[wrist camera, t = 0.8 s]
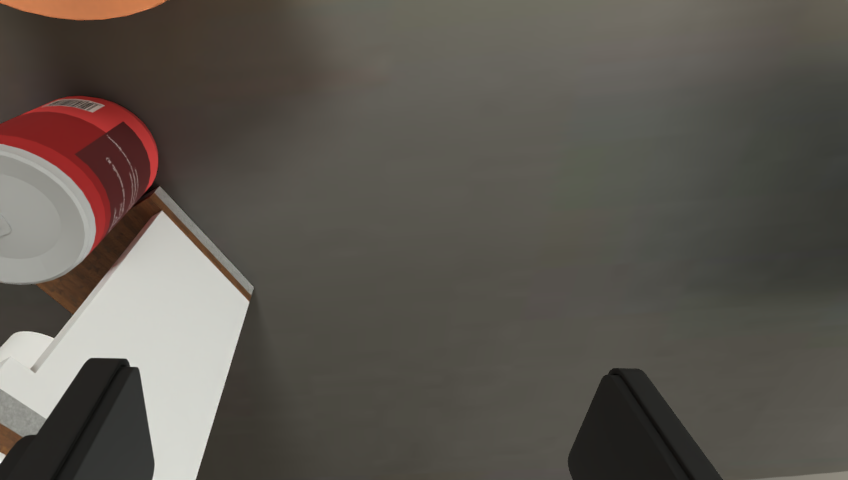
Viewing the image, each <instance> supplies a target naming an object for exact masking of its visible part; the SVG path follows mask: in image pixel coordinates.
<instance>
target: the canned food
mask: <svg viewBox="0 0 848 480" xmlns="http://www.w3.org/2000/svg"><path fill="white" fill-rule="evenodd" d="M157 169H158V150H157V146H156V143H155V140H154V138H153V136H152V134H151V132H150V131H149V130H148V128H147V127H146V126H145V124H144V123H143V122H142V121H141V120H140V119H139V118H138V117H137V116H136V115H135V114H133V113H132V112H130V111H129V110H127V109H126V108H124V107H122V106H120V105H118V104H116V103H114V102H111V101H108V100H105V99H101V98H95V97H87V96H68V97H64V98H60V99H56V100H54V101H52V102H49V103H47V104H45V105H42V106H40V107H38V108H36V109H33V110H31V111H29V112H26V113H24V114H22V115H20V116H17V117H15V118H13V119H10V120H8V121H6V122H3V123H1V124H0V283H6V284H20V285H26V284H38V283H43V282H47V281H51V280H54V279H56V278H58V277H61V276H63V275H65V274H66V273H68V272H69V271H71V270H72V269H73V268H75V267H76V266H77V265H78V264H80V263H81V262H82V261H83V260H84V259H85V258H86V257H87V256H88V255H89V254H90V253H91V252H92V251H93V250H94V249H95V248H96V246H97V245H98V244H99V243H100V242H101V241H102V240H103V239H104V237H105V236H106V235H107V234H108V233H109V232H110V231H111V230H112V229H113V227H114V226H115V225H116V224H117V223H118V222H119V221H120V220H121V219H122V217H123V216H124V215H125V214H126V213H127V212H128V211H129V210H130V209H131V207H132V206H133V205H134V204H135V203H136V202H137V201H138V200H139V199H140V197H141V196H142V195H143V194H144V193H145V192H146V191H147V190H148V188H149V187H150V186H151V185H152V183H153V181H154V179H155V177H156V174H157Z"/></svg>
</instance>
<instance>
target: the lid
mask: <svg viewBox="0 0 848 480" xmlns="http://www.w3.org/2000/svg"><path fill="white" fill-rule="evenodd" d="M166 1H168V0H0V3H1V4H4V5H7V6H10V7H13V8H16V9H19V10H22V11H25V12H30V13H34V14H38V15H43V16H47V17H52V18H62V19H71V20H104V19H110V18H116V17H122V16H128V15H133V14H136V13H139V12H142V11H145V10H148V9H151V8H154V7H156V6H158V5H160V4H162V3H164V2H166Z"/></svg>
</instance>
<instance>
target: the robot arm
mask: <svg viewBox="0 0 848 480" xmlns="http://www.w3.org/2000/svg"><path fill="white" fill-rule="evenodd" d="M154 467H155V463H154V455H153V449H152V443H151V437H150V431H149V425H148V419H147V413H146V406H145V400H144V394H143V388H142V382H141V376H140V371H139V368H138V367H130V364H129V361H128V360H127V359H124V358H90V359H88V360H87V361H86V362H85V363H84V365H83V366H82V368H81V369H80V371H79V372H78V374H77V375H76V377H75V378H74V379H73V381H72V382H71V384H70V385H69V387H68V388H67V390H66V391H65V393H64V394H63V396H62V397H61V399H60V400H59V402H58V403H57V405H56V406H55V408H54V409H53V411H52V412H51V414H50V415H49V417H48V418H47V420H46V421H45V423H44V424H43V426H42V427H41V429H40V430H39V431H38V433H37V434H36V435H27V436H24V437H23V438H21V439H20V440H19V441H17V442H16V444H15V445H14V446H13V447H12V448H11V449H10V451H9V452H8V454H7V455H6V456H5V458H4V459H3V461H2V462H1V463H0V480H152V479H153V475H154ZM568 467H569V471H570V474H571V476H572V478H573V480H723V479H722V478H721V476H720V475H719V474H718V472H717V471H716V470H715V468H714V467H713V466H712V464H711V463H710V461H709V460H708V459H707V457H706V456H705V455H704V453H703V452H702V450H701V449H700V448H699V446H698V445H697V444H696V442H695V441H694V440H693V438H692V437H691V435H690V434H689V433H688V431H687V430H686V429H685V427H684V426H683V425H682V423H681V422H680V420H679V419H678V418H677V416H676V415H675V414H674V412H673V411H672V409H671V408H670V407H669V405H668V404H667V403H666V401H665V400H664V399H663V397H662V396H661V394H660V393H659V392H658V390H657V389H656V388H655V386H654V385H653V384H652V382H651V381H650V379H649V378H648V377H647V375H646V374H645V373H644V372H643V371H642V370H640V369H622V368H614V369H612V370H610V372H609V373H608V375H605V376H603V378H602V380H601V382H600V384H599V387H598V389H597V391H596V394H595V396H594V398H593V400H592V403H591V405H590V407H589V410H588V412H587V414H586V417H585V419H584V421H583V423H582V426H581V428H580V430H579V433H578V435H577V437H576V440H575V442H574V444H573V447H572V449H571V451H570V453H569V457H568Z"/></svg>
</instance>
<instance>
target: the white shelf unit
mask: <svg viewBox="0 0 848 480" xmlns="http://www.w3.org/2000/svg"><path fill="white" fill-rule="evenodd" d="M36 285H37V286H38V287H40V288H41V289H42V290H43V291H45V292H46V293H47V294H48V295H50V296H51V297H52V298H53V299H55V300H56V301H57V302H58V303H59V304H61V305H62V306H63V307H64V308H66V309H67V310H68V311H69V312H71V313H72V314H73V316H72V317H71V318H70V320H69V321H68V322H67V323H66V325H65V326H64V327H63V328H62V330H61V331H60V332H59V333H58V335H57V336H56V337H55V338H52V337H50V336H47V335H44V334H40V333H35V332H26V331H24V332H17V333H14V334H13V335H12V336H11V337H10V338H9V339H8V340H7V341H6V342H5V343H4V344H3V345H2V346H1V348H0V463H1V462H2V461H3V459H4V458H5V456H6V455H7V454H8V452H9V451H10V449H11V448H12V447H13V446H14V445H15V444H16V442H17V441H19V440H20V439H21V438H23V437H24V436H27V435H36V434H37V433H38V431H39V430H40V429H41V427H42V426H43V424H44V423H45V421H46V420H47V418H48V417H49V415H50V414H51V412H52V411H53V409H54V408H55V406H56V405H57V403H58V402H59V400H60V399H61V397H62V396H63V394H64V393H65V391H66V390H67V388H68V387H69V385H70V384H71V382H72V381H73V379H74V378H75V377H76V375H77V374H78V372H79V371H80V369H81V368H82V366H83V365H84V363H85V362H86V361H87V360H88V359H90V358H124V359H127V360H128V361H129V364H130V367H138V368H139V371H140V376H141V382H142V388H143V394H144V400H145V406H146V413H147V419H148V425H149V431H150V437H151V443H152V449H153V455H154V463H155V467H154V475H153V479H152V480H196V477H197V473H198V470H199V467H200V463H201V460H202V457H203V454H204V450H205V447H206V444H207V440H208V437H209V434H210V430H211V427H212V424H213V421H214V417H215V414H216V411H217V407H218V404H219V401H220V397H221V394H222V391H223V387H224V384H225V381H226V378H227V374H228V371H229V368H230V364H231V361H232V358H233V354H234V351H235V348H236V345H237V341H238V338H239V335H240V331H241V328H242V325H243V321H244V318H245V315H246V312H247V308H248V305H249V302H250V298H251V295H252V292H253V288H254V287H253V286H252V285H251V284H250V283H249V281H248V280H247V279H246V278H245V277H244V276H243V275H242V274H241V273H240V272H239V271H238V270H237V269H236V267H235V266H234V265H233V264H232V263H231V262H230V261H229V260H228V259H227V258H226V257H225V256H224V255H223V253H222V252H221V251H220V250H219V249H218V248H217V247H216V246H215V245H214V244H213V243H212V242H211V241H210V239H209V238H208V237H207V236H206V235H205V234H204V233H203V232H202V231H201V230H200V229H199V228H198V227H197V225H196V224H195V223H194V222H193V221H192V220H191V219H190V218H189V217H188V216H187V215H186V214H185V213H184V211H183V210H182V209H181V208H180V207H179V206H178V205H177V204H176V203H175V202H174V201H173V200H172V199H171V197H170V196H169V195H168V194H167V193H166V192H165V191H164V190H163V189H162V188H161V187H160V186H159V187H157V188H156V189H154V190H152V191H151V192H149V193H147V194H146V195H144V196H142V197H141V198H140V199H139V200H138V201H137V202H136V203H135V204H134V205H133V206H132V207H131V209H130V210H129V211H128V212H127V213H126V214H125V215H124V216H123V217H122V219H121V220H120V221H119V222H118V223H117V224H116V225H115V226H114V227H113V229H112V230H111V231H110V232H109V233H108V234H107V235H106V236H105V237H104V239H103V240H102V241H101V242H100V243H99V244H98V245H97V246H96V248H95V249H94V250H93V251H92V252H91V253H90V254H89V255H88V256H87V257H86V258H85V259H84V260H83V261H82V262H81V263H80V264H78V265H77V266H76V267H75V268H73V269H72V270H71V271H69V272H68V273H66V274H65V275H63V276H61V277H58V278H56V279H54V280H51V281H47V282H43V283H38V284H36Z"/></svg>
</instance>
